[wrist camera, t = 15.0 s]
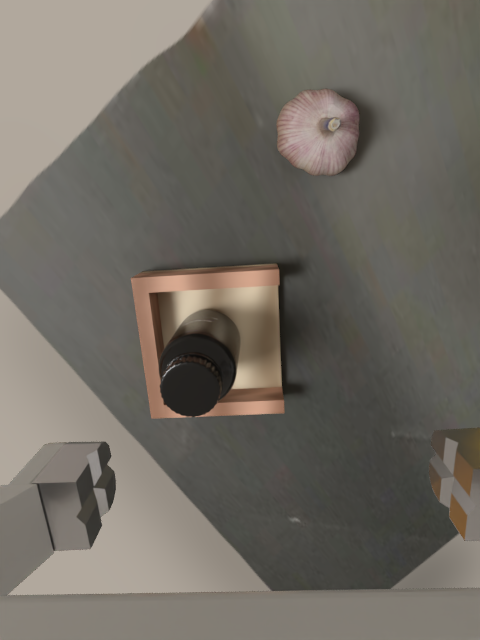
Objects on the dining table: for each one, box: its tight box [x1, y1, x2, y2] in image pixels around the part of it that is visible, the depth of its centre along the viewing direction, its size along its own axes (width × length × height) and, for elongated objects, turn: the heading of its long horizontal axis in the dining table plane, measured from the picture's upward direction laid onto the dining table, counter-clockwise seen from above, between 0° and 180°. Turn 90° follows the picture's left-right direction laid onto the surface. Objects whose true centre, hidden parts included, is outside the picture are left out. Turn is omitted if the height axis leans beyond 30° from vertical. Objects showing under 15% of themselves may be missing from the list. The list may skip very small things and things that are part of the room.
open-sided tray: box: [131, 263, 284, 418], centre depth 40 cm, size 14×15×4 cm
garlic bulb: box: [277, 89, 360, 176], centre depth 32 cm, size 8×7×8 cm
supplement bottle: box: [159, 310, 241, 417], centre depth 35 cm, size 7×7×12 cm
